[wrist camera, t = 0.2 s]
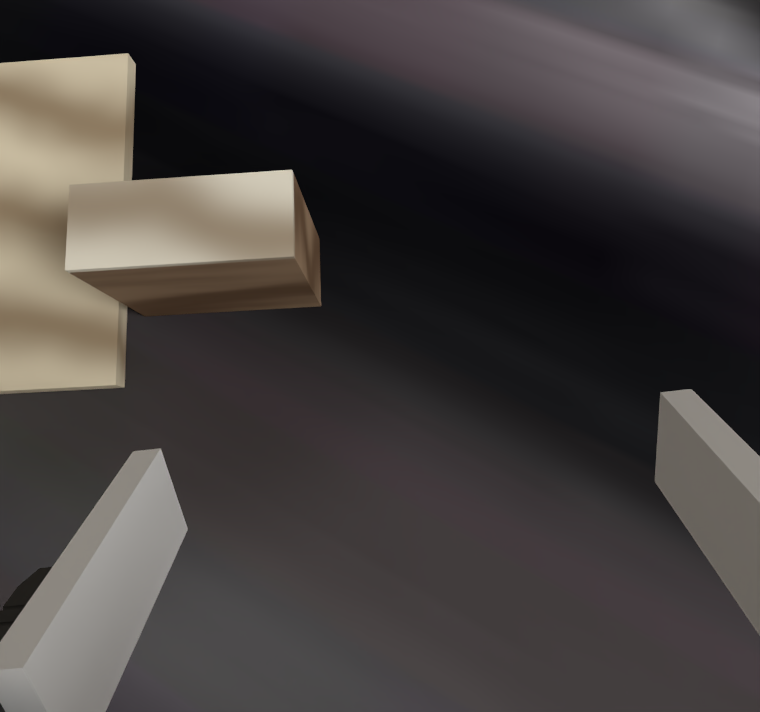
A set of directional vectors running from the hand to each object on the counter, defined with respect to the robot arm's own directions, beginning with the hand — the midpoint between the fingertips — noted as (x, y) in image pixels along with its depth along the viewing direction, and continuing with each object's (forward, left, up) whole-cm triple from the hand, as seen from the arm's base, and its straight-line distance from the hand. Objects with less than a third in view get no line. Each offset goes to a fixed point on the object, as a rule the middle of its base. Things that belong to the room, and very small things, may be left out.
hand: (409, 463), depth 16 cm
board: (+15, +23, -16) cm, 32 cm away
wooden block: (+11, +9, -16) cm, 21 cm away
